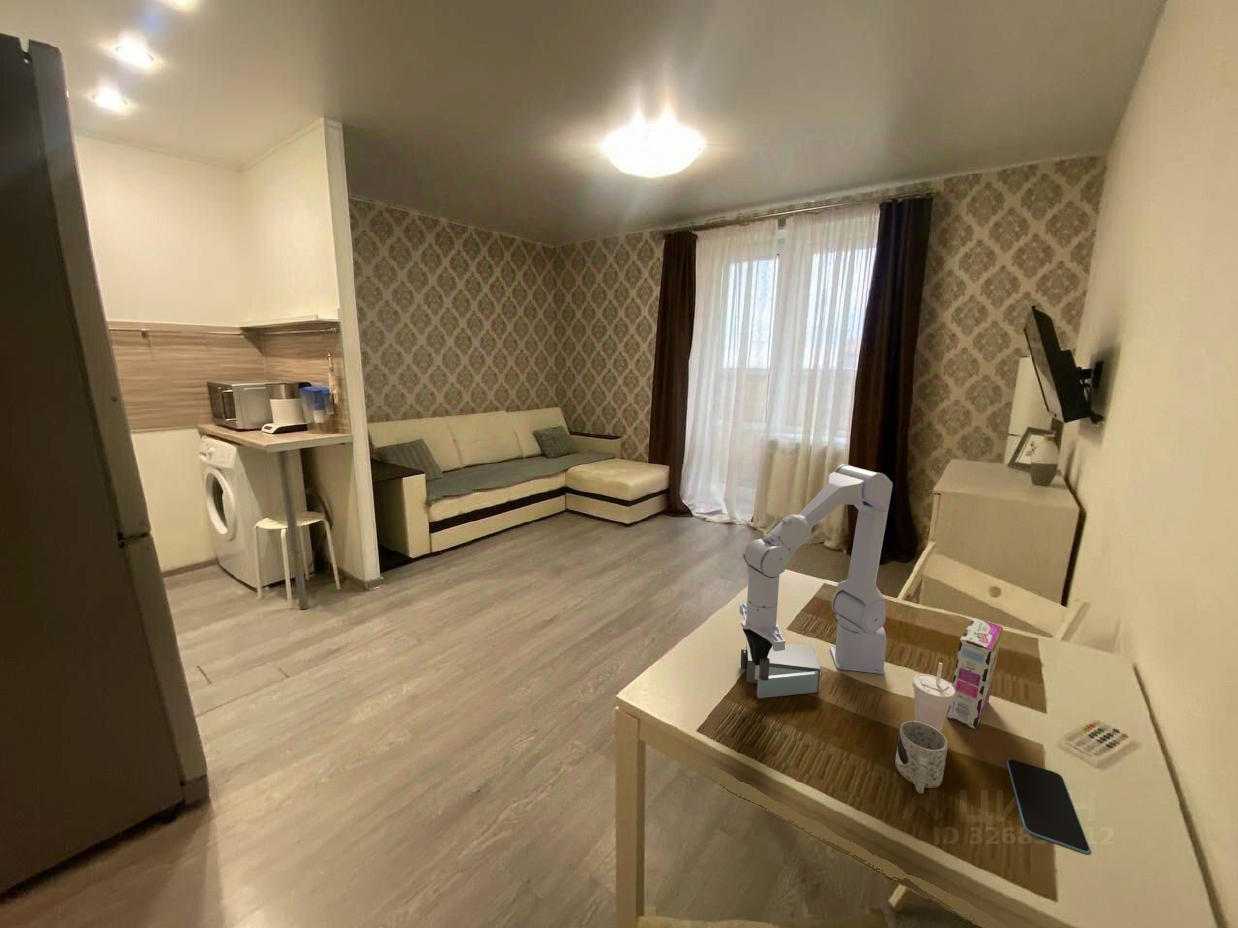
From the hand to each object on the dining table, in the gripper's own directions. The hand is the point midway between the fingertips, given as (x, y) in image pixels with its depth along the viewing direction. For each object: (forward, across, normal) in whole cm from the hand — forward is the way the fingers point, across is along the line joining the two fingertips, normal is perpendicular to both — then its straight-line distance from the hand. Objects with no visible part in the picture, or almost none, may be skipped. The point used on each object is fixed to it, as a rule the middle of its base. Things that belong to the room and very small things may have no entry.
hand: (758, 662), depth 100 cm
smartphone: (+6, +34, +30) cm, 45 cm away
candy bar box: (+6, +15, +36) cm, 40 cm away
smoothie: (+6, +18, +24) cm, 30 cm away
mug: (+6, +26, +15) cm, 30 cm away
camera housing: (+6, -3, +7) cm, 10 cm away
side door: (+6, +3, +5) cm, 8 cm away
